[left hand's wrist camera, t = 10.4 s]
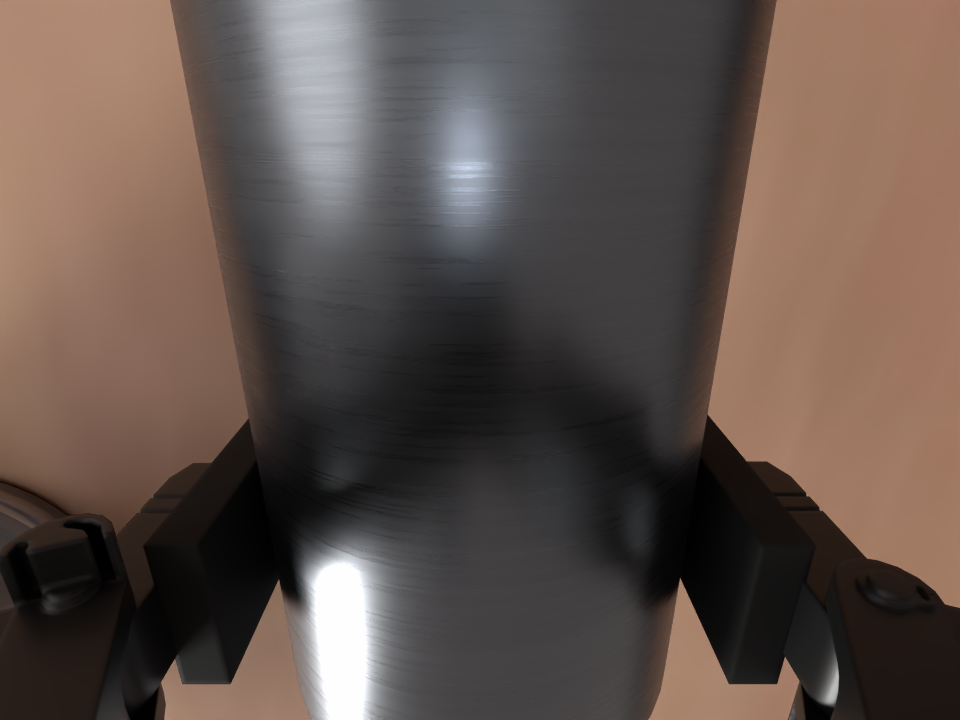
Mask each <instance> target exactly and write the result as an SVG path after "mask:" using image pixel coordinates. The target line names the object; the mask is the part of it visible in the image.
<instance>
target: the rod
mask: <svg viewBox="0 0 960 720" xmlns="http://www.w3.org/2000/svg"><path fill="white" fill-rule="evenodd" d="M776 1H777V0H170V2H171V7H172V13H173V18H174V23H175V29H176V34H177V39H178V44H179V50H180V55H181V60H182V66H183V71H184V76H185V82H186V87H187V92H188V98H189V103H190V108H191V113H192V119H193V124H194V129H195V135H196V140H197V145H198V151H199V156H200V161H201V167H202V172H203V177H204V182H205V188H206V193H207V198H208V204H209V209H210V214H211V220H212V225H213V230H214V235H215V241H216V246H217V251H218V257H219V262H220V267H221V273H222V278H223V283H224V289H225V294H226V299H227V304H228V310H229V315H230V320H231V326H232V331H233V336H234V342H235V347H236V352H237V358H238V363H239V368H240V373H241V379H242V384H243V389H244V395H245V400H246V405H247V411H248V416H249V421H250V426H251V432H252V437H253V442H254V448H255V453H256V458H257V464H258V469H259V474H260V480H261V485H262V490H263V495H264V501H265V506H266V511H267V517H268V522H269V527H270V533H271V538H272V543H273V549H274V554H275V559H276V564H277V570H278V575H279V580H280V586H281V591H282V596H283V602H284V607H285V612H286V618H287V623H288V628H289V633H290V639H291V644H292V649H293V655H294V660H295V665H296V671H297V676H298V681H299V686H300V691H301V694H302V697H303V700H304V702H305V705H306V707H307V710H308V713H309V715H310V717H311V719H312V720H648V719H649V717H650V716H651V714H652V711H653V709H654V706H655V704H656V701H657V699H658V696H659V693H660V690H661V685H662V680H663V675H664V670H665V664H666V658H667V652H668V646H669V640H670V634H671V628H672V622H673V616H674V611H675V605H676V599H677V593H678V587H679V581H680V575H681V569H682V563H683V557H684V551H685V545H686V539H687V533H688V527H689V521H690V515H691V509H692V503H693V497H694V491H695V485H696V479H697V473H698V467H699V461H700V455H701V449H702V443H703V437H704V431H705V425H706V419H707V413H708V407H709V401H710V395H711V389H712V383H713V377H714V371H715V365H716V359H717V354H718V348H719V342H720V336H721V330H722V324H723V318H724V312H725V306H726V300H727V294H728V288H729V282H730V276H731V270H732V264H733V258H734V252H735V246H736V240H737V234H738V228H739V222H740V216H741V210H742V204H743V198H744V192H745V186H746V180H747V174H748V168H749V162H750V156H751V150H752V144H753V138H754V132H755V126H756V120H757V114H758V108H759V102H760V97H761V91H762V85H763V79H764V73H765V67H766V61H767V55H768V49H769V43H770V37H771V31H772V25H773V19H774V13H775V7H776Z"/></svg>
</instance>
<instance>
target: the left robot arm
mask: <svg viewBox="0 0 960 720" xmlns="http://www.w3.org/2000/svg"><path fill="white" fill-rule="evenodd" d="M680 578H681V580H682V583H683V585H684V587H685V589H686V591H687V593H688V596H689V598H690V600H691V602H692V604H693V607H694V609H695V611H696V613H697V615H698V617H699V620H700V622H701V624H702V626H703V628H704V631H705V633H706V635H707V637H708V639H709V641H710V644H711V646H712V648H713V650H714V652H715V655H716V657H717V659H718V661H719V663H720V665H721V668H722V670H723V672H724V674H725V676H726V679H727V681H728V683H729V684H777V682H778V679H779V675H780V672H781V668H782V665H783V661H784V658H785V657H786V659H787V660H788V662H789V664H790V665H791V667H792V669H793V670H794V672H795V674H796V675H797V677H798V679H799V681H800V682H799V685H798V688H797V691H796V695H795V698H794V701H793V705H792V708H791V711H790V714H789V718H788V720H960V608H957V607H953V606H949V605H945V604H944V603H943V601H942V600H941V599H940V597H939V596H938V594H937V593H936V592H935V591H934V590H933V589H932V588H930V587H929V586H928V585H927V584H925V583H924V582H923V581H922V580H920V579H919V578H917V577H916V576H914V575H912V574H910V573H908V572H906V571H904V570H902V569H900V568H899V567H896V566H893V565H890V564H887V563H884V562H881V561H878V560H871V559H867V558H866V557H865V556H864V555H863V554H862V553H861V552H860V551H859V550H858V548H857V547H856V546H855V545H854V544H853V543H852V542H851V541H850V540H849V539H848V538H847V537H846V536H845V534H844V533H843V532H842V531H841V530H840V529H839V528H838V527H837V526H836V525H835V524H834V523H833V522H832V520H831V519H830V518H829V517H828V516H827V515H826V514H825V513H824V512H823V511H820V510H819V506H818V505H817V504H816V503H815V502H814V501H813V500H812V499H811V498H810V497H807V496H806V492H805V491H804V490H803V489H802V488H801V487H800V486H799V485H798V484H797V483H796V482H795V481H794V479H793V478H792V477H791V476H789V475H788V474H786V473H785V472H783V471H781V470H780V469H778V468H776V467H775V466H773V465H771V464H770V463H768V462H747V461H746V460H745V459H744V458H743V457H742V455H741V454H740V453H739V452H738V451H737V449H736V448H735V447H734V446H733V445H732V443H731V442H730V441H729V440H728V439H727V437H726V436H725V435H724V434H723V433H722V431H721V430H720V429H719V428H718V427H717V425H716V424H715V423H714V422H713V421H712V419H711V418H710V417H709V416H708V415H707V419H706V425H705V431H704V437H703V443H702V449H701V455H700V461H699V467H698V473H697V479H696V485H695V491H694V497H693V503H692V509H691V515H690V521H689V527H688V533H687V539H686V545H685V551H684V557H683V563H682V569H681V575H680ZM278 580H279V575H278V570H277V564H276V559H275V554H274V549H273V543H272V538H271V533H270V527H269V522H268V517H267V511H266V506H265V501H264V495H263V490H262V485H261V480H260V474H259V469H258V464H257V458H256V453H255V448H254V442H253V437H252V432H251V426H250V421H249V419H248V420H247V421H246V422H245V424H244V425H243V426H242V427H241V428H240V430H239V431H238V432H237V433H236V434H235V436H234V437H233V438H232V439H231V440H230V442H229V443H228V444H227V445H226V446H225V448H224V449H223V450H222V451H221V452H220V454H219V455H218V456H217V457H216V459H215V460H214V461H213V462H212V463H193V464H191V465H190V466H188V467H187V468H185V469H183V470H182V471H180V472H178V473H177V474H175V475H174V476H172V477H170V478H169V479H168V480H167V481H166V482H165V483H164V485H163V486H162V487H161V488H160V489H159V490H158V491H157V492H156V493H155V494H154V498H153V499H150V500H149V501H148V502H147V503H146V504H145V505H144V506H143V507H142V508H141V512H140V513H137V514H136V515H135V516H134V517H133V518H132V519H131V520H130V522H129V523H128V524H127V525H126V526H125V527H124V528H123V529H122V530H121V531H120V532H119V533H118V535H117V536H116V535H115V531H114V528H113V525H112V522H111V521H110V520H108V519H107V518H106V517H104V516H103V515H95V514H88V513H87V514H79V515H70V516H66V515H65V514H64V513H62V512H61V511H60V510H58V509H57V508H55V507H53V506H52V505H50V504H49V503H47V502H45V501H43V500H42V499H40V498H38V497H36V496H34V495H32V494H30V493H28V492H26V491H23V490H21V489H18V488H16V487H13V486H10V485H7V484H4V483H1V482H0V720H164V715H165V706H166V703H165V697H164V691H163V688H162V685H161V681H162V679H163V678H164V676H165V674H166V673H167V671H168V669H169V668H170V666H171V664H172V662H173V661H174V659H176V663H177V666H178V670H179V673H180V677H181V680H182V684H231V682H232V680H233V678H234V676H235V673H236V671H237V669H238V667H239V665H240V662H241V660H242V658H243V656H244V654H245V652H246V649H247V647H248V645H249V643H250V641H251V638H252V636H253V634H254V632H255V630H256V628H257V625H258V623H259V621H260V619H261V617H262V614H263V612H264V610H265V608H266V606H267V604H268V601H269V599H270V597H271V595H272V593H273V590H274V588H275V586H276V584H277V582H278Z"/></svg>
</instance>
